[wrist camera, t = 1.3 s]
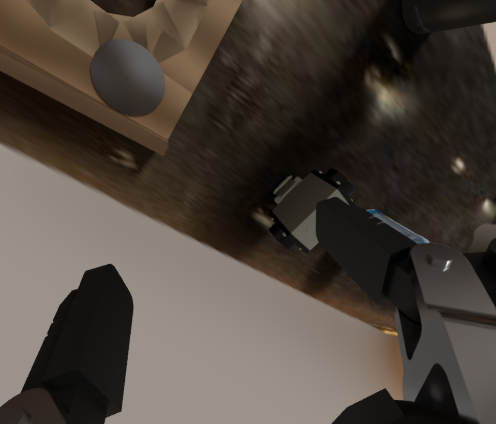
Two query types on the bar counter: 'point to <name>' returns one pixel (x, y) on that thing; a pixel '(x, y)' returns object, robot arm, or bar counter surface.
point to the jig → (115, 58)
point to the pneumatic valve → (305, 206)
